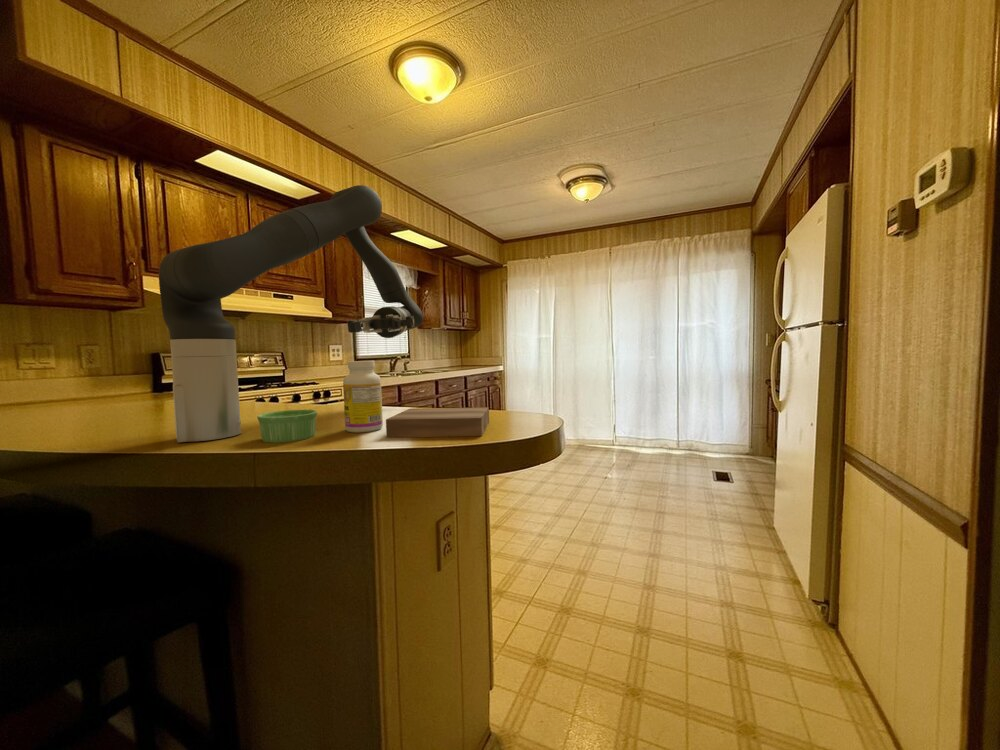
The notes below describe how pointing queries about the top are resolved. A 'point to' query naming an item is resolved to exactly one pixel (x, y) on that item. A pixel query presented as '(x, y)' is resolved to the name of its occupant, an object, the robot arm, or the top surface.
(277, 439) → the ramekin
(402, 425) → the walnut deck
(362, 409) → the supplement bottle
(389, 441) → the top surface
